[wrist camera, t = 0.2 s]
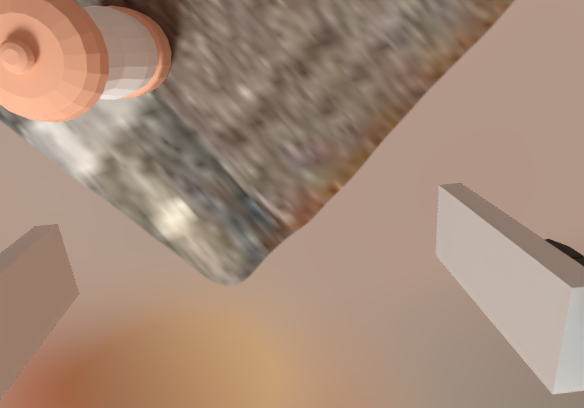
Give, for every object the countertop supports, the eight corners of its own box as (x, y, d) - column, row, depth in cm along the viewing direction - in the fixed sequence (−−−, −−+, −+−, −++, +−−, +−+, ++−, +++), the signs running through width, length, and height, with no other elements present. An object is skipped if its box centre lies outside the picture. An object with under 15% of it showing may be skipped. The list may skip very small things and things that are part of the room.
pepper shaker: (94, -2, 36) (-75, -54, 18) (178, 23, 37) (99, -2, 19) (84, 82, 38) (-73, 112, 20) (164, 103, 39) (82, 149, 21)
